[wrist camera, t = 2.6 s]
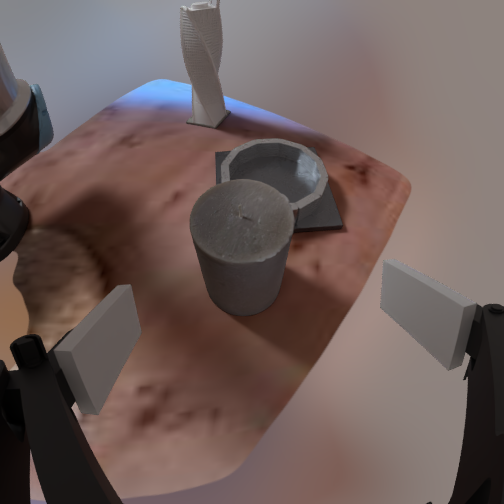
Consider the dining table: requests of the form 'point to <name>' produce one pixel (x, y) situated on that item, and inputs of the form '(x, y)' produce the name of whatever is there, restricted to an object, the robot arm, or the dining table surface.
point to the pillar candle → (242, 243)
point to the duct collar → (285, 178)
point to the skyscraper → (203, 61)
